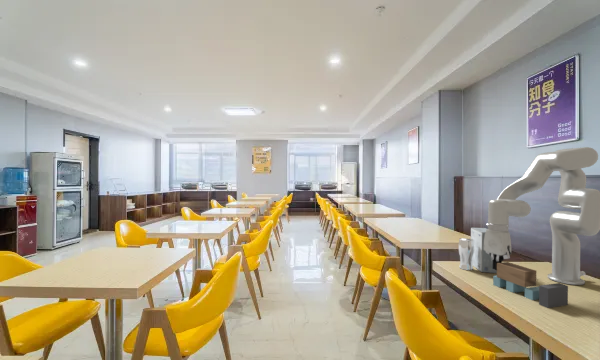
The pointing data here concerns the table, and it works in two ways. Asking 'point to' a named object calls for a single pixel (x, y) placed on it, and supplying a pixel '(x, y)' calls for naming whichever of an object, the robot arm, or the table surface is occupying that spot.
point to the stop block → (553, 295)
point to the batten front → (514, 287)
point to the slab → (516, 274)
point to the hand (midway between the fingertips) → (497, 269)
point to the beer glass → (466, 253)
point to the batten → (532, 293)
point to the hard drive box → (481, 252)
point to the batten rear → (499, 282)
